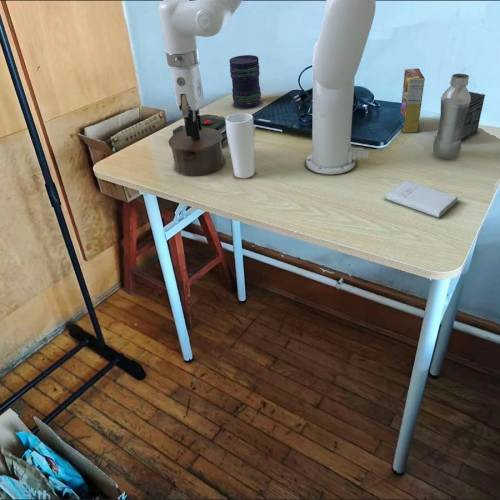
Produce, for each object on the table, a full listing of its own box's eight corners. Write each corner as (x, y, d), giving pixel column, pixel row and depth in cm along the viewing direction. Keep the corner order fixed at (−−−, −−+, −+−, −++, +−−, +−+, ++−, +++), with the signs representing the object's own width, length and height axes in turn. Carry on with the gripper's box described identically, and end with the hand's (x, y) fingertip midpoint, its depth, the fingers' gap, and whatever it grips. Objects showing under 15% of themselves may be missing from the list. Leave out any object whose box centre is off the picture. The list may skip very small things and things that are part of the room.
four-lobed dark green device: (217, 151, 129) (215, 136, 126) (167, 142, 137) (164, 127, 134) (248, 127, 141) (247, 113, 138) (201, 120, 149) (199, 106, 146)
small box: (456, 126, 130) (464, 89, 124) (478, 132, 126) (487, 94, 120) (434, 137, 126) (441, 99, 119) (456, 144, 121) (464, 105, 115)
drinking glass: (254, 181, 113) (250, 123, 104) (228, 180, 115) (221, 123, 106) (259, 168, 119) (255, 112, 110) (234, 167, 120) (228, 112, 111)
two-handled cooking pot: (227, 149, 130) (225, 125, 125) (217, 180, 115) (214, 155, 111) (183, 150, 131) (179, 127, 127) (167, 181, 117) (162, 156, 112)
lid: (226, 131, 124) (223, 108, 120) (217, 153, 113) (214, 129, 109) (176, 132, 126) (172, 110, 122) (163, 154, 115) (158, 131, 111)
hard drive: (438, 218, 94) (385, 199, 102) (456, 202, 99) (404, 185, 106) (439, 212, 93) (386, 193, 101) (458, 196, 98) (405, 179, 105)
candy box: (398, 121, 137) (404, 68, 127) (413, 120, 136) (420, 67, 127) (402, 132, 130) (409, 78, 120) (417, 132, 129) (426, 77, 120)
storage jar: (267, 104, 157) (264, 58, 148) (242, 111, 153) (238, 65, 144) (251, 97, 164) (248, 53, 155) (228, 103, 160) (223, 59, 151)
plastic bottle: (450, 164, 113) (466, 82, 101) (425, 156, 117) (439, 76, 105) (464, 155, 116) (482, 75, 104) (440, 148, 120) (454, 70, 108)
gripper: (191, 67, 100) (202, 146, 111) (204, 48, 113) (214, 120, 124) (158, 69, 101) (173, 146, 112) (175, 50, 114) (187, 121, 125)
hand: (194, 132), depth 118 cm, fingers closed
